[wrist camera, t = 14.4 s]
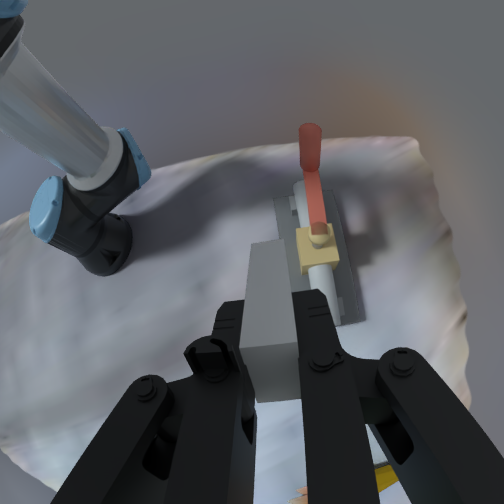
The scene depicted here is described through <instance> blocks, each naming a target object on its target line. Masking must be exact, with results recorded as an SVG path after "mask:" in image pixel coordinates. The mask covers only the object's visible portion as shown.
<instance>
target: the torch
mask: <svg viewBox="0 0 504 504" xmlns="http://www.w3.org/2000/svg"><path fill="white" fill-rule="evenodd" d="M375 475H376V481H377V487H378V493H379V492H381V491H382V490H384V489H386V488H387V487H389V486H391V485H392V484H394V483H395V482H397V481H399V479H398V478H397V476H396V474H395V472H394V470H393V469H392V467H391V465H386V466H383V467H380V468H377V469H375ZM296 491H297V492H299V493H301V494H303V495H304V496H301V497H298V498H295V499H292V500H289V501H287V502H289V503H291V504H308V497H307V486H306V487H303V488H300V489H298V490H296Z"/></svg>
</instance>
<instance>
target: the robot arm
mask: <svg viewBox="0 0 504 504" xmlns="http://www.w3.org/2000/svg"><path fill="white" fill-rule="evenodd" d="M27 4H28V0H0V131H1V132H3V133H4V134H6V135H7V136H9V137H11V138H12V139H14V140H15V141H17V142H18V143H20V144H22V145H23V146H25V147H26V148H28V149H30V150H31V151H33V152H34V153H36V154H38V155H39V156H41V157H42V158H44V159H46V160H48V161H49V162H51V163H52V164H54V165H55V166H57V167H59V168H60V169H62V170H64V171H65V172H66V176H65V177H64V178H63V179H61V177H58V176H52V177H49V178H48V179H46V180H45V182H43V184H42V185H41V186H40V188H39V189H38V192H37V193H36V195H35V197H34V200H33V202H32V206H31V209H30V215H29V224H30V229H31V231H32V233H33V234H34V235H35V236H37V237H38V238H40V239H41V240H43V242H45V243H48V244H50V245H52V246H54V247H56V248H58V249H60V250H62V251H64V252H66V253H68V254H70V255H72V256H74V257H76V258H77V259H78V260H79V262H80V263H81V264H82V265H83V266H84V267H85V269H86V270H88V271H89V272H91V273H93V274H95V275H97V276H107V275H110V274H112V273H114V272H115V271H117V270H118V269H119V268H120V267H121V266H122V264H123V263H124V262H125V260H126V258H127V257H128V254H129V252H130V249H131V244H132V232H131V228H130V226H129V224H128V223H127V221H125V220H124V219H123V218H122V217H120V216H119V215H117V214H113V213H109V212H110V211H111V210H113V209H114V208H115V207H116V206H117V205H119V204H120V203H121V202H122V201H123V200H125V199H126V198H127V197H128V196H130V195H131V194H132V193H133V192H135V191H136V190H139V189H140V188H141V186H142V185H143V184H145V183H146V182H147V181H148V180H149V179H150V177H151V169H150V167H149V165H148V163H147V161H146V160H145V158H144V156H143V155H142V153H141V151H140V149H139V147H138V145H137V144H136V142H135V140H134V139H133V137H132V135H131V134H130V132H129V131H128V129H126V128H121V129H118V130H117V131H116V130H114V129H113V128H110V127H99V126H98V125H97V124H96V123H95V122H94V121H93V119H91V117H90V116H89V115H88V114H87V113H86V112H85V111H84V110H83V109H82V108H81V107H80V106H79V105H78V104H77V103H76V101H75V100H74V99H73V98H72V97H71V96H70V95H69V94H68V93H67V92H66V91H65V90H64V89H63V87H62V86H61V85H60V84H59V83H58V82H57V81H56V80H55V79H54V78H53V77H52V76H51V74H50V73H49V72H48V71H47V70H46V69H45V68H44V67H43V66H42V64H41V63H40V62H39V61H38V60H37V59H36V58H35V57H34V56H33V54H32V53H31V52H30V51H29V50H28V49H27V48H26V47H25V45H23V43H22V41H21V38H22V35H23V31H24V27H25V21H24V20H23V19H22V17H21V16H20V15H19V14H21V13H22V12H23V10H24V8H25V7H26V6H27ZM183 354H184V356H185V358H186V360H187V362H188V364H189V366H190V368H191V369H192V371H193V375H191V376H190V377H187V378H184V379H181V380H177V381H173V382H169V383H166V382H165V380H164V379H163V378H162V377H160V376H158V375H146V376H142V377H140V378H138V379H137V380H135V381H134V382H133V383H132V384H131V385H130V386H129V388H128V389H127V391H126V392H125V393H124V395H123V396H122V398H121V399H120V400H119V402H118V403H117V405H116V406H115V408H114V409H113V410H112V412H111V413H110V415H109V416H108V418H107V419H106V421H105V422H104V423H103V425H102V426H101V428H100V429H99V431H98V432H97V434H96V435H95V437H94V438H93V440H92V441H91V442H90V444H89V445H88V447H87V448H86V450H85V451H84V453H83V454H82V456H81V457H80V459H79V460H78V462H77V463H76V465H75V466H74V468H73V469H72V471H71V472H70V474H69V475H68V477H67V478H66V480H65V481H64V483H63V485H62V486H61V488H60V489H59V491H58V492H57V494H56V495H55V497H54V499H53V500H52V502H51V503H50V504H253V497H254V477H255V456H256V433H257V415H256V411H255V408H254V406H255V398H256V401H257V403H263V402H275V401H285V400H294V399H301V401H302V413H303V426H304V441H305V456H306V474H307V497H308V504H380V499H379V493H378V487H377V481H376V475H375V469H374V464H373V459H372V454H371V449H370V444H369V439H368V435H367V430H366V426H365V424H368V426H369V427H370V429H371V431H372V433H373V435H374V436H375V438H376V440H377V442H378V443H379V445H380V447H381V449H382V451H383V452H384V454H385V456H386V458H387V460H388V461H389V463H390V465H391V467H392V469H393V470H394V472H395V474H396V476H397V478H398V479H399V481H400V483H401V485H402V487H403V489H404V490H405V492H406V494H407V496H408V498H409V500H410V502H411V503H412V504H504V458H503V457H502V455H501V454H500V453H499V451H498V450H497V448H496V447H495V446H494V444H493V443H492V441H491V440H490V439H489V437H488V436H487V435H486V433H485V432H484V431H483V429H482V428H481V427H480V425H479V424H478V423H477V422H476V420H475V419H474V418H473V416H472V415H471V414H470V413H469V411H468V410H467V409H466V407H465V406H464V405H463V404H462V402H461V401H460V400H459V399H458V398H457V396H456V395H455V394H454V393H453V391H452V390H451V389H450V388H449V387H448V385H447V384H446V383H445V382H444V381H443V380H442V378H441V377H440V376H439V375H438V374H437V373H436V371H435V370H434V369H433V368H432V367H431V366H430V364H429V363H428V362H427V361H426V360H425V359H424V358H423V356H422V355H420V354H419V353H418V352H417V351H415V350H413V349H410V348H402V347H398V348H394V349H391V350H389V351H387V352H386V353H384V354H383V355H382V357H381V358H380V360H374V359H361V358H356V357H354V356H351V355H350V354H348V353H347V352H345V350H344V349H343V348H342V347H341V344H340V342H339V338H338V335H337V331H336V328H335V324H334V321H333V317H332V315H331V311H330V308H329V304H328V301H327V298H326V295H325V294H323V293H322V292H321V291H320V290H319V289H311V290H305V291H298V292H291V287H290V279H289V272H288V265H287V258H286V251H285V245H284V239H279V240H273V241H266V242H260V243H253V244H251V251H250V260H249V268H248V277H247V285H246V294H245V300H237V301H228V302H224V303H223V305H222V306H221V307H220V308H219V309H218V311H217V314H216V318H215V323H214V327H213V331H212V335H210V336H205V337H201V338H199V339H197V340H195V341H193V342H192V343H191V344H190V345H189V346H188V347H187V348H186V350H185V352H184V353H183Z"/></svg>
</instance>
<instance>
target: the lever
mask: <svg viewBox="0 0 504 504" xmlns="http://www.w3.org/2000/svg"><path fill="white" fill-rule="evenodd" d="M321 133H322V130H321V128H320V127H319V126H318V125H316V124H313V123H305V124H303V125H301V126H300V128H299V146H300V166H301V168H302V169H303V175H304V183H305V190H306V198H307V205H308V214H309V222H310V227H309V231H308V237H309V240H310V241H311V243H313V244H314V245H318V246H321V245H324V244H326V243H327V242H328V240H329V238H330V234H331V230H330V228H329V226H328V225H327V221H326V214H325V207H324V201H323V195H322V188H321V183H320V177H319V171H318V168H319V166H320V152H321Z"/></svg>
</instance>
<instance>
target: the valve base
mask: <svg viewBox="0 0 504 504" xmlns="http://www.w3.org/2000/svg"><path fill="white" fill-rule="evenodd" d="M293 191H294V195H292V196H285V197H279V198H273V199H274V206H275V212H276V219H277V225H278V232H279V239H284V245H285V251H286V258H287V265H288V272H289V279H290V287H291V292H298V291H305V290H311V289H319V290H320V291H321V292H322V293H323V294H325V295H326V298H327V301H328V304H329V308H330V311H331V315H332V317H333V321H334V324H335V327H336V326H341V325H347V324H352V323H357V322H360V317H359V310H358V304H357V298H356V293H355V287H354V282H353V276H352V271H351V266H350V261H349V257H348V252H347V247H346V243H345V238H344V234H343V230H342V226H341V222H340V218H339V214H338V210H337V206H336V202H335V198H334V195H333V191H332V190H328V191H322V195H323V201H324V207H325V214H326V221H327V225H328V226H329V228H330V230H331V234H330V238H329V240H328V242H327V243H326V244H324V245H321V246H318V245H314V244H313V243H311V241H310V240H309V237H308V231H309V227H310V222H309V214H308V205H307V198H306V190H305V183H304V180H301V181H298V182H296V183H295V184H294V185H293Z"/></svg>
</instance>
